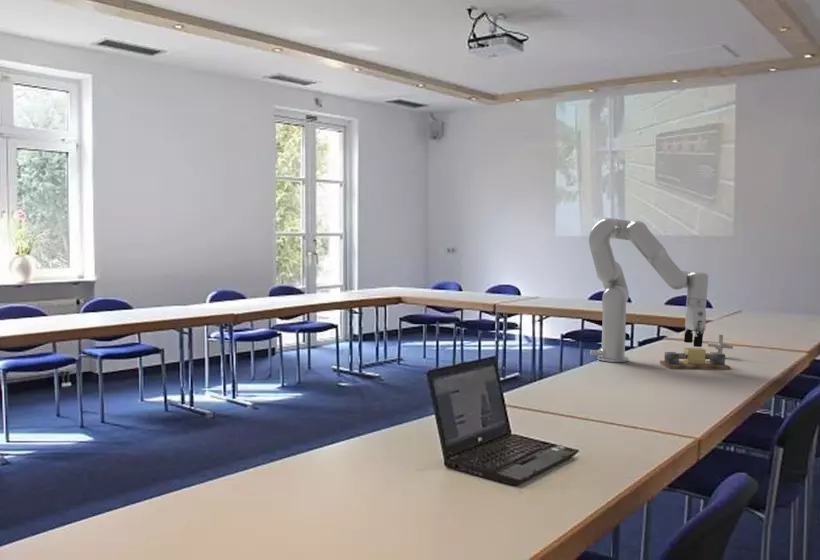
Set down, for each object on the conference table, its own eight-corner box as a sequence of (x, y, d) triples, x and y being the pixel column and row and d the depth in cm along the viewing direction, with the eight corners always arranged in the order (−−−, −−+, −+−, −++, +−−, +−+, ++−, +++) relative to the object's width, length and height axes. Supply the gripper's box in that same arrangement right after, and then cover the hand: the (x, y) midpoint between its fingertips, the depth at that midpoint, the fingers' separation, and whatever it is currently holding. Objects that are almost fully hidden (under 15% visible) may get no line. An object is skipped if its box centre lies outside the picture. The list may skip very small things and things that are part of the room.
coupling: (700, 362, 304) (701, 347, 303) (705, 364, 299) (705, 349, 299) (683, 362, 304) (684, 347, 303) (687, 364, 299) (688, 349, 299)
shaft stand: (670, 368, 295) (670, 355, 295) (659, 363, 307) (660, 350, 307) (730, 369, 296) (730, 356, 295) (717, 363, 308) (717, 351, 307)
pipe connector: (728, 360, 318) (729, 336, 317) (704, 357, 324) (705, 334, 323) (734, 356, 326) (735, 334, 325) (711, 354, 332) (712, 332, 331)
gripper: (714, 305, 291) (710, 348, 293) (696, 300, 308) (693, 341, 310) (695, 304, 291) (692, 347, 293) (678, 299, 308) (675, 340, 310)
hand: (692, 344), depth 301 cm, fingers open, 9 cm apart
